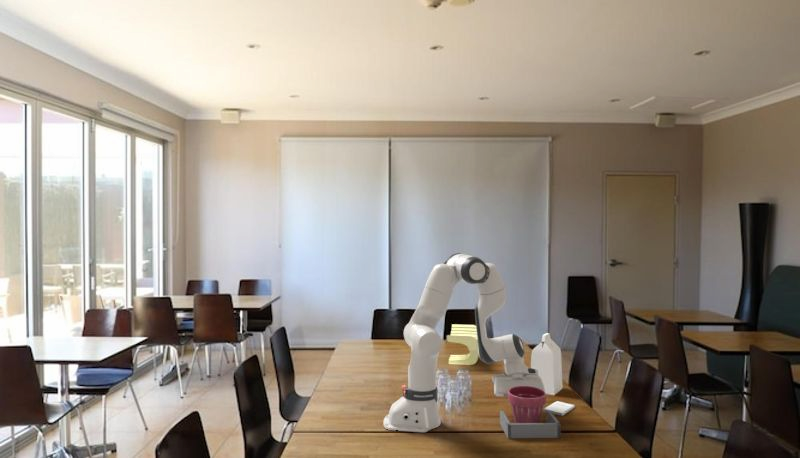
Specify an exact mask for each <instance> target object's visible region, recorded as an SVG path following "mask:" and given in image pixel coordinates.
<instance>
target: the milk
mask: <svg viewBox="0 0 800 458" xmlns="http://www.w3.org/2000/svg"><path fill="white" fill-rule="evenodd" d="M530 368H533V369H537V370H538V376H539V377H540V378H541V379H542V382H543V385H544V389H545V393H546V395H550V396H555V395H556V394H558V393H559V392H560V391H561V390H563V370H562V369H563V368H562V350H561V348H560V347H559V346H558V344H556V342H555V341H554V340H553V339H552V338H551V334H550V332H549V333H548V332H546V333H544V334H542V336H541V342H539V343H538V344H537V345H536V346H535V347H534V348H533V349H532V350H531V358H530Z"/></svg>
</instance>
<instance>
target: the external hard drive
mask: <svg viewBox="0 0 800 458" xmlns="http://www.w3.org/2000/svg"><path fill="white" fill-rule="evenodd" d="M574 408H575V404H572V403H566V402H563V401H558V400H556V401H555V402H553V403H550V405H548V406H546V407H543V412H545V413H546V410H550V411H551V413H552V414H553V415H556V414H557V416H561V417H563V416H564V415H566V414H567V413H570V411H572V410H573V409H574Z"/></svg>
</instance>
